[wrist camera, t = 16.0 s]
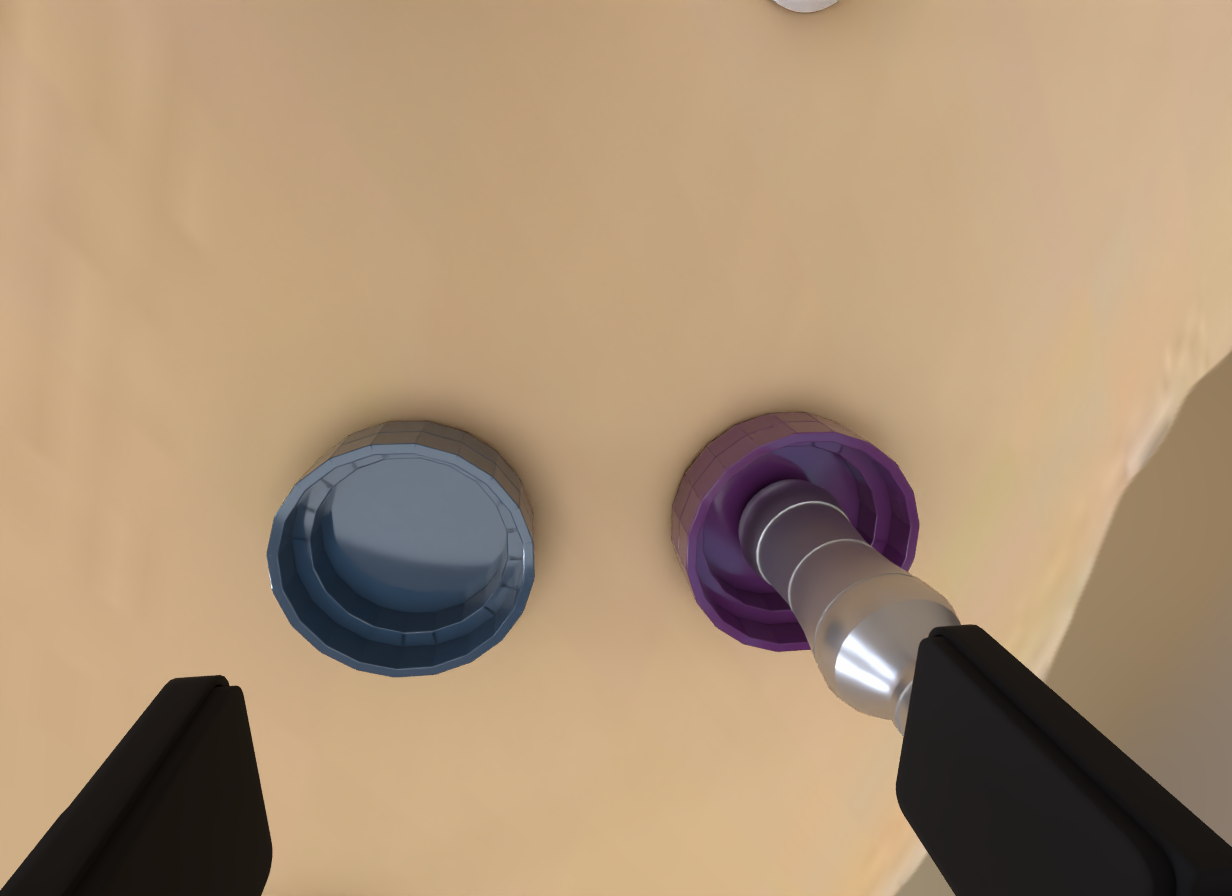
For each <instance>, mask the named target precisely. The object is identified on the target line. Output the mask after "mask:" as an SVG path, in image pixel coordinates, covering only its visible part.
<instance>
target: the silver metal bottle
mask: <svg viewBox="0 0 1232 896" xmlns="http://www.w3.org/2000/svg"><path fill="white" fill-rule="evenodd" d="M738 532H739V540H740V544H741V548H742V551H743V555H744V558H745V559H746V561H747V563H748V565H749V566H750V567H751V568H752V569H753V570H754V571H755V572H756V573H757V574H758V575H759V576H760V577H761V578H762V579H763V580H764V581H766V582H767V583H768V584H770V585H771V586H773V587H774V589H775V590H776V591H777V592H778V593H779V594H780V595H781V596H782V598H783V599H784V600H785V601H786V602H787V603H788V604H789V606H790V608H791V610H792V611H793V613H794V615H795V616H796V618H797V620H798V622H799V624H800V625H801V627H802V629H803V631H804V633H805V636H806V638H807V641H808V643H809V646H810V648H811V650H812V653H813V655H814V658H815V660H816V663H817V665H818V668H819V670H820V672H821V673H822V675H823V677H824V679H825V681H826V683H827V685H828V687H829V689H830V690H831V691H832V692H833V693H834V694H835V695H836V696H837V697H838V698H840V699H841V700H842V701H844V702H845V703H846V704H848V705H849V706H851V707H852V708H854V709H855V710H857V711H858V712H861V713H864V714H866V715H869V716H874V717H878V718H882V719H887V720H892V722H893V724H894V725H895V727H896V728H897V729H898V731H899V732H900V733H901V734H902V735H903V736H904V732H905V726H906V720H907V714H908V708H909V702H910V696H911V690H912V683H913V677H914V671H915V665H916V659H917V653H918V647H919V644H920V642H921V641H922V639H924V638H928V636H929V633H930V632H931V630H932V629H933V628H935V627H941V626H956V625H961V624H960V621H959V619H958V617H957V615H956V613H955V611H954V609H953V607H952V606H951V604H950V603H949V602H948V600H947V599H946V598H945V597H944V596H942V595H941V594H940V593H938V592H937V591H936V590H934V589H933V588H932V587H930V586H929V585H928V584H927V583H925V582H923V581H921V580H920V579H918V578H917V577H915V576H913V575H912V574H910V573H908V572H907V571H905V570H904V569H902V568H900V567H899V566H897V565H895V564H894V563H892V562H890V561H889V560H888V559H887V558H885V557H884V556H883V555H882V554H880V553H879V552H878V551H876V550H875V549H874V548H873V547H872V546H870V545H869V544H868V543H867V542H866V541H865V540H864V539H863V538H862V536H861V535H860V534H859V533H858V532H857V530H856V529H855V528H854V527H853V525H852V524H851V523H850V521H849V519H848V517H847V515H846V512H845V511H844V509H843V508H842V507H841V505H840V504H839V502H838V501H837V500H836V499H835V497H834V496H833V495H832V494H831V493H829V492H828V491H827V490H825V489H823V488H821V487H819V486H817V485H815V484H812V483H810V482H808V481H804V480H800V479H787V480H781V481H778V482H775V483H772V484H770V485H768V486H767V487H765V488H763V489H762V490H760V491H759V492H758V493H757V494H756V495H754V496H753V498H752V499H751V500H750V501H749V502H748V504H747V505H746V507H745V509H744V510H743V513H742V515H741V518H740V522H739V528H738Z"/></svg>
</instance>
